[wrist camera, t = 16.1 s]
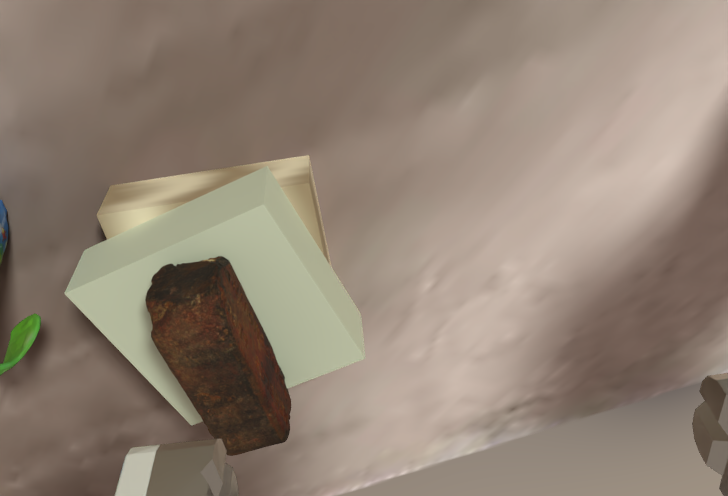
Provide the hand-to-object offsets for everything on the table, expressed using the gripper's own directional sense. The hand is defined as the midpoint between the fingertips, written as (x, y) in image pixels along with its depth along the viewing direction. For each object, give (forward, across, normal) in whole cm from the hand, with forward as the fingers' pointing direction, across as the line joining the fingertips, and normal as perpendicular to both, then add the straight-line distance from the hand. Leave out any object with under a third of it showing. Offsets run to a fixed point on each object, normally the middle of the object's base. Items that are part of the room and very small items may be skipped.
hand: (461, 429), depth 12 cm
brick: (+21, +10, +15) cm, 28 cm away
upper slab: (+25, +10, +15) cm, 31 cm away
